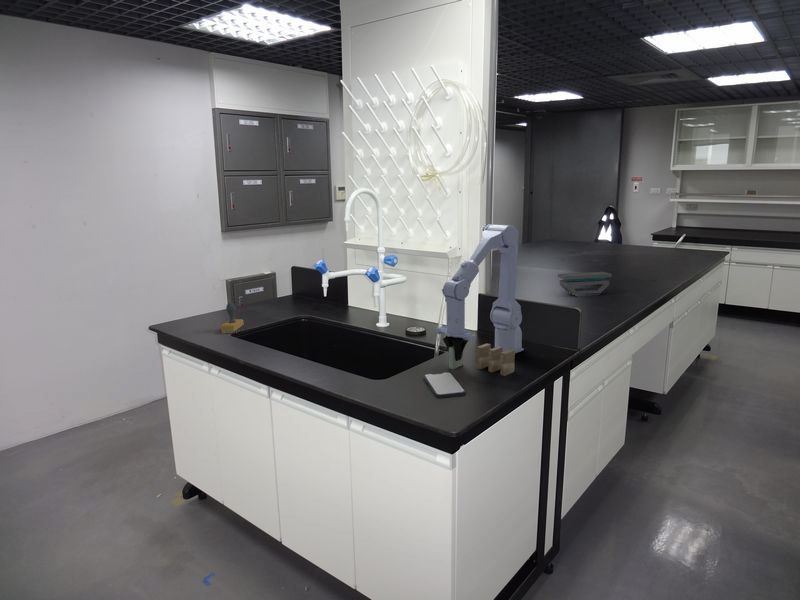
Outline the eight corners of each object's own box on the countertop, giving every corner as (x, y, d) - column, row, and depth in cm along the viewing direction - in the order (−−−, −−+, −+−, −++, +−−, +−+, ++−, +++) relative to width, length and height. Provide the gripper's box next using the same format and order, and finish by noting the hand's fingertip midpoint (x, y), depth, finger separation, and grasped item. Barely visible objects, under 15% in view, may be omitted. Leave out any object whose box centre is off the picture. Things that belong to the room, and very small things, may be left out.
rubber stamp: (234, 334, 213) (232, 305, 210) (221, 334, 213) (218, 305, 211) (244, 327, 223) (241, 300, 220) (231, 327, 223) (228, 300, 221)
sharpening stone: (602, 292, 273) (603, 271, 271) (610, 295, 266) (611, 274, 263) (557, 294, 270) (557, 273, 268) (563, 297, 263) (564, 276, 260)
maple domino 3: (500, 374, 159) (500, 352, 158) (509, 370, 163) (510, 349, 161) (504, 376, 158) (505, 353, 157) (514, 371, 162) (514, 350, 160)
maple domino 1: (476, 368, 166) (476, 346, 164) (486, 364, 169) (486, 343, 167) (480, 369, 164) (481, 347, 163) (490, 365, 168) (490, 344, 166)
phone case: (467, 397, 145) (450, 376, 160) (467, 392, 144) (450, 371, 160) (436, 400, 143) (422, 379, 158) (436, 395, 143) (422, 374, 158)
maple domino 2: (488, 371, 162) (488, 349, 161) (497, 367, 166) (498, 346, 164) (492, 372, 161) (492, 350, 160) (502, 368, 165) (502, 347, 163)
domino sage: (449, 368, 166) (448, 347, 165) (459, 364, 170) (458, 343, 168) (452, 369, 165) (452, 348, 164) (462, 365, 168) (462, 344, 167)
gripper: (429, 316, 166) (430, 357, 169) (465, 324, 156) (465, 367, 159) (444, 312, 171) (444, 352, 174) (480, 319, 161) (479, 361, 164)
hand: (455, 359), depth 167 cm, fingers closed on domino sage, 1 cm apart
